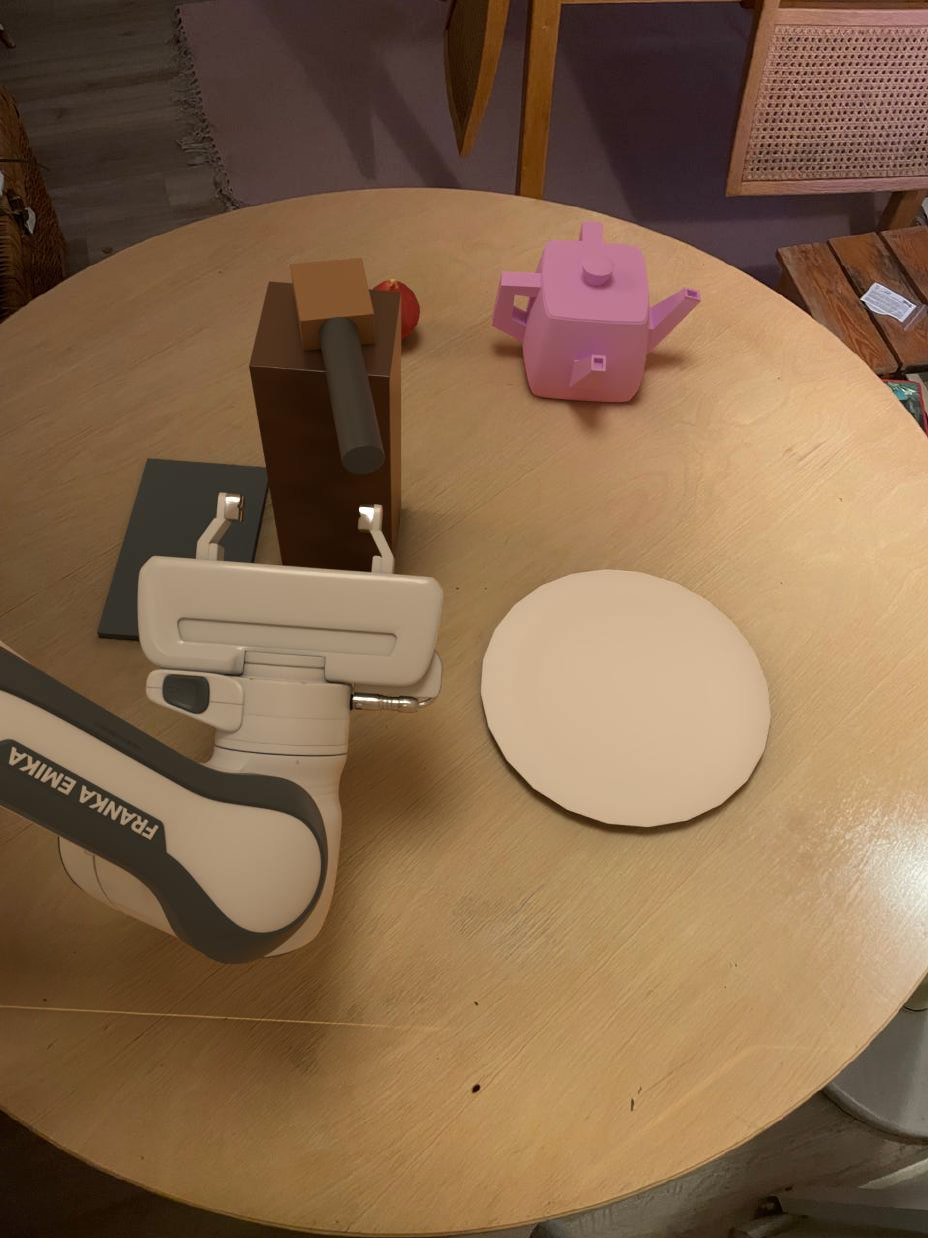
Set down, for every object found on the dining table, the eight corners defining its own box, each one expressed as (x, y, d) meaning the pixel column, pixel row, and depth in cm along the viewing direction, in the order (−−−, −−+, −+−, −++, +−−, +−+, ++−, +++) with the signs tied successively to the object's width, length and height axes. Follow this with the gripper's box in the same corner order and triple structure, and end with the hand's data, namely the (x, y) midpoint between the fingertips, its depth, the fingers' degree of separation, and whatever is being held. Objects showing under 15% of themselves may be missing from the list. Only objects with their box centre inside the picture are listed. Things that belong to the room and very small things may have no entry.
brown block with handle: (403, 469, 69) (403, 441, 66) (324, 479, 68) (322, 450, 66) (362, 287, 78) (361, 257, 76) (293, 294, 77) (290, 263, 75)
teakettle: (576, 282, 119) (593, 187, 108) (690, 363, 113) (719, 270, 102) (469, 351, 112) (476, 256, 101) (584, 440, 106) (604, 349, 95)
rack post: (283, 575, 95) (248, 365, 73) (297, 498, 100) (268, 280, 78) (392, 583, 95) (389, 376, 73) (401, 506, 100) (401, 291, 78)
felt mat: (98, 637, 91) (96, 632, 90) (148, 463, 101) (147, 457, 101) (236, 647, 91) (234, 643, 90) (271, 472, 102) (270, 467, 101)
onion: (354, 335, 112) (351, 274, 106) (395, 312, 115) (395, 251, 108) (388, 364, 110) (387, 305, 103) (430, 341, 112) (431, 281, 106)
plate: (595, 892, 81) (599, 885, 79) (424, 656, 91) (424, 646, 90) (826, 737, 89) (833, 728, 88) (644, 537, 100) (648, 526, 98)
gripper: (439, 718, 67) (455, 504, 67) (120, 694, 66) (139, 480, 67) (439, 713, 73) (454, 517, 73) (148, 691, 73) (165, 495, 73)
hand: (301, 499), depth 70 cm, fingers open, 8 cm apart
